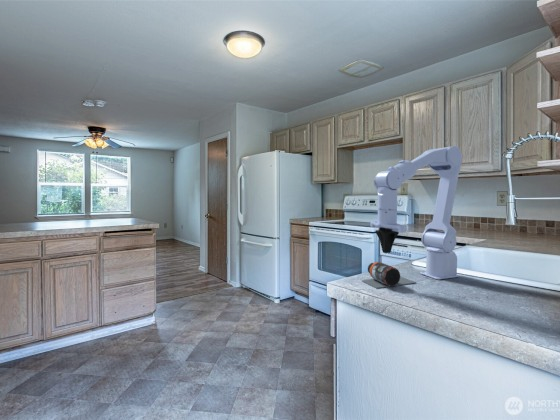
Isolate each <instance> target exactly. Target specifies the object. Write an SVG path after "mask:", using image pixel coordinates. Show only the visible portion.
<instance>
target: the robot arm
mask: <svg viewBox="0 0 560 420" xmlns="http://www.w3.org/2000/svg"><path fill="white" fill-rule="evenodd" d="M462 161H463V154H462V152H461V150H460V148H459V147H458V146H456V145H451V146H447V147H440V148H439V147H438V148H430V149H427V150H424V152H423V153H422V154H420V155H419V156H417V157H415V158H414V159H412V160H411V161H410V160H408V159H407V160H405V159H403V160H399V161H398V163H397V164H395V165H394V166H389V167H388V169H387V170H383V171H379V172H378V173H377V174H376V175H375V177H374V179H373V184H374V187H375V189H376V193H377V220H373V221H372V220H371V221H370V228H376V230H375V234H376V236H377V238H378V239H379V244H380V248H381V251H382V254H383V253H384V254H390V253H391V252H392V249H393V245H394V242H395V240H396V238H397V237H398V235H399V234H401V233H403V234H404V233H406V232H407V226H406V225H402V224H399V223H398V189H400V187H402V184H403V183H404V182H406V181H408V180H409V179H411V178H413V177H414V176H416V173H417V171H418V170H420V169H422V168H424V167H426V166H428V168H430V169H431V170H432V171H433V172H434V173H435V174H437V175H438V176H439V177H440V179H439V182H438V183H439V184H438V187H437V188H438V189H437V193H436V194H437V196H436V200H435V206H434V212H433V215H432V221H431V222H429V223H428V224H427V225H425V228H424V231H423V233H422V235H421V238H420V239H421V244H422V245H423V247H424V249H425V250H426V261H425V265H426V267H425V271H420V272H419V274H421V275H424V276H426V277H429V278H431V279H435V280H444V279H452V278H459V276H460V275H459V274H458V256H457V254H456V252H455V251H454V249H455V247H456V245H457V230H456V229H455V228H454V227H453V226H452V224H451V218H452V213H453V207H454V202H455V196H456V191H457V186H458V181H459V175H460V174H459V173H460V171H461V165H462Z"/></svg>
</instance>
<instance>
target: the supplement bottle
mask: <svg viewBox="0 0 560 420" xmlns="http://www.w3.org/2000/svg"><path fill="white" fill-rule="evenodd" d="M367 272H368V273H369V275H370V277H371V279H376V280H377V281H380V282H382V283H384V284H386V285H388V286H392V287H396V286H395V285H396V284H397V283H398V282H399V280H400V276H401V273H400V270H399V269H398V268H396V267H394V266H391V265H389V264H386V263H383V262H381V261H376V262H371V263H369V264H368V266H367Z"/></svg>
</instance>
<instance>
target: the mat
mask: <svg viewBox="0 0 560 420" xmlns="http://www.w3.org/2000/svg"><path fill="white" fill-rule="evenodd" d="M361 282H362V283H364V284H367V285H369V286H370V287H373V289H374V288H375V289H384V288H389V287H393V286H388V285H386V284H384V283H382V282H380V281H377V280H376V279H374V278H371V279H362V280H361ZM412 284H417V282H416V281H415V280H414V281H413V280H411V279H408V278H406V277H403V276H401V275H400V280H399V282H398V283H397V284H396V285H395V286H394V287H397V286H398V287H399V286H404V285H405V286H406V285H412Z"/></svg>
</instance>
